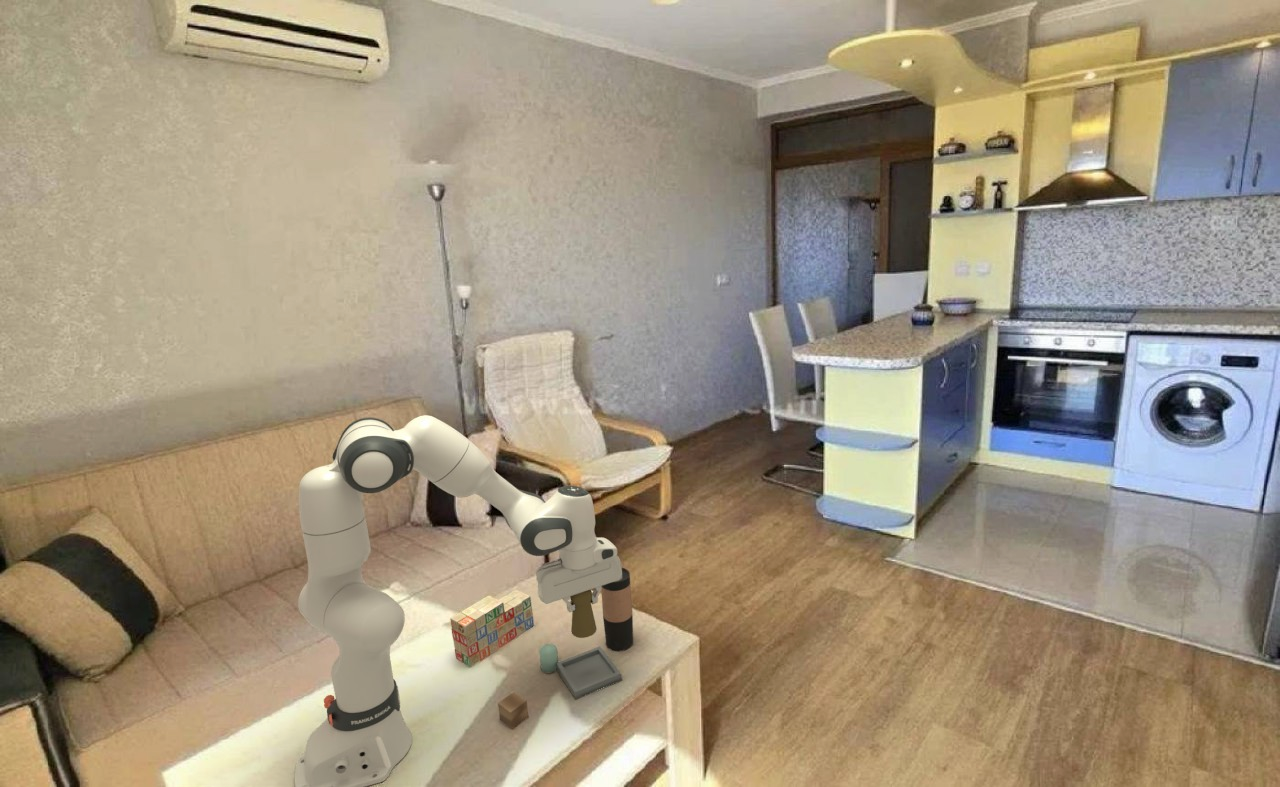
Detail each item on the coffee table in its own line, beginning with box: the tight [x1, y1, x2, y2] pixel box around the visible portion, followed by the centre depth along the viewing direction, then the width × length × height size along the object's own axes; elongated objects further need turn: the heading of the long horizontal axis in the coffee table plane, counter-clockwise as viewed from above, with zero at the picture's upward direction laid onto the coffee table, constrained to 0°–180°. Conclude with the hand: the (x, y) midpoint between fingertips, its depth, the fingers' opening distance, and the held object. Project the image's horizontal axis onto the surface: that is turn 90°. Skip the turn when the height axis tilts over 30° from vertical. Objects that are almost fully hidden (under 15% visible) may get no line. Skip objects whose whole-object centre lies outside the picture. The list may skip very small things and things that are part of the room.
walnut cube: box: [497, 691, 529, 730], centre depth 138 cm, size 4×4×4 cm
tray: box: [556, 645, 623, 700], centre depth 151 cm, size 12×12×2 cm
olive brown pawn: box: [570, 589, 598, 639], centre depth 146 cm, size 6×6×11 cm
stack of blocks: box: [449, 589, 535, 668], centre depth 164 cm, size 21×6×12 cm, turn 141°
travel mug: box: [600, 567, 634, 652], centre depth 160 cm, size 8×8×20 cm
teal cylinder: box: [538, 643, 559, 674], centre depth 154 cm, size 4×4×5 cm
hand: (582, 606), depth 146 cm, fingers closed on olive brown pawn, 4 cm apart
